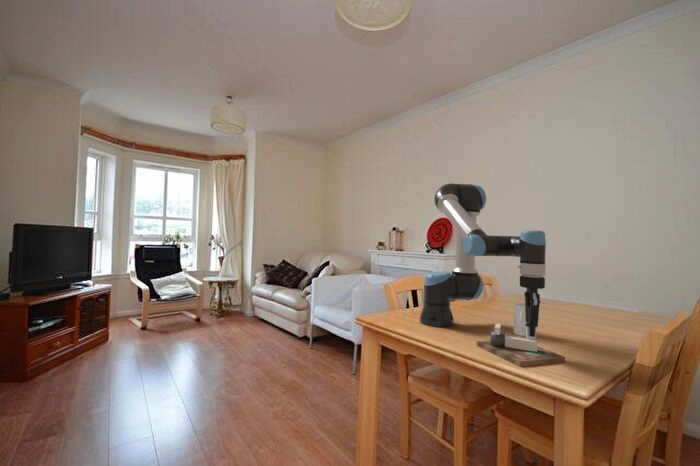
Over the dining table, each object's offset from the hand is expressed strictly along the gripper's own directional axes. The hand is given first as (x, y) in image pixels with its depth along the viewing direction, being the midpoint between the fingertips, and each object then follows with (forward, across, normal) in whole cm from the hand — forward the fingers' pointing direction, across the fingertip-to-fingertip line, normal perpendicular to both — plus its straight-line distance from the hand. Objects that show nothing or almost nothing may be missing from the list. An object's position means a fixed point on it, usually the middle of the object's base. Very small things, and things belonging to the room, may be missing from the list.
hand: (531, 345), depth 110 cm
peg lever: (+1, +1, -5) cm, 5 cm away
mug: (+4, -26, +2) cm, 26 cm away
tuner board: (+3, 0, -4) cm, 5 cm away
